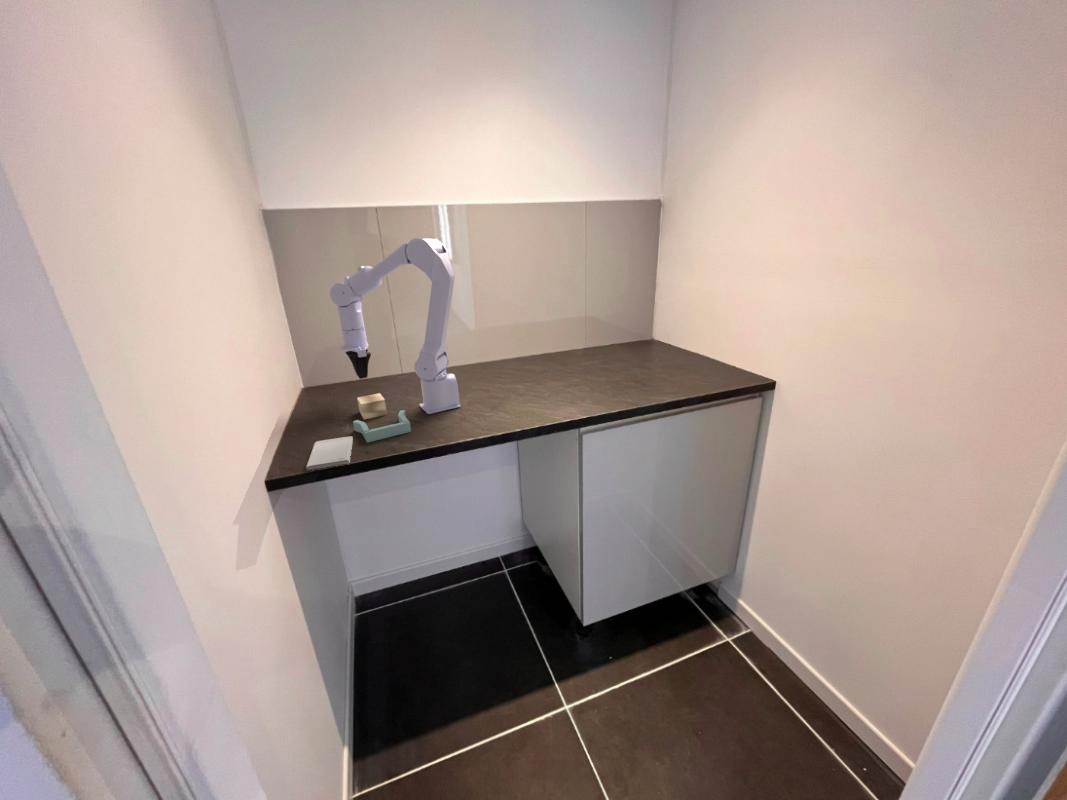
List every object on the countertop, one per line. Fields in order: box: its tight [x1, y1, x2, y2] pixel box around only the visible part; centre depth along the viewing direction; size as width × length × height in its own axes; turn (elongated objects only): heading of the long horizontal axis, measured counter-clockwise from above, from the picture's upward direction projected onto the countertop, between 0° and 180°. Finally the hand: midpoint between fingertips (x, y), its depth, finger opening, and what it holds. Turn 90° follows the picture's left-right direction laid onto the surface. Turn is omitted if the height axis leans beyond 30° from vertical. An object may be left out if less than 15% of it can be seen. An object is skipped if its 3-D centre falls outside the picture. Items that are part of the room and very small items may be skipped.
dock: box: [352, 409, 412, 443], centre depth 103 cm, size 13×9×2 cm
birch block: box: [356, 392, 388, 420], centre depth 113 cm, size 6×6×4 cm
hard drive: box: [305, 435, 354, 469], centre depth 92 cm, size 2×8×12 cm
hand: (362, 376), depth 117 cm, fingers open, 2 cm apart
